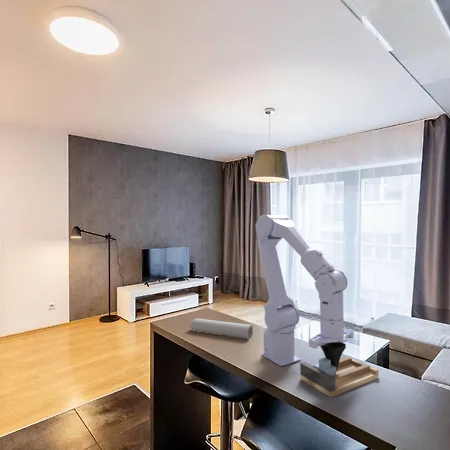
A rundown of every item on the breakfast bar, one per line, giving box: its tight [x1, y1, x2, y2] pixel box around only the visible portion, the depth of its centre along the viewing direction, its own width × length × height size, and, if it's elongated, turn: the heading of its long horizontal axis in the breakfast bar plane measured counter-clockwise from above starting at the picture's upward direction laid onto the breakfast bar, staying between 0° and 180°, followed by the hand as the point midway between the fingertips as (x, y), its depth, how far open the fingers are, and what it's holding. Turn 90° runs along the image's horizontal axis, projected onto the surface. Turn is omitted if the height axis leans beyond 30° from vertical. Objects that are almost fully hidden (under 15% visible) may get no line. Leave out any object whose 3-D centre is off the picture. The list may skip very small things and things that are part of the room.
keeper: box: [312, 357, 336, 376], centre depth 77 cm, size 4×4×5 cm
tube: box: [189, 317, 254, 341], centre depth 114 cm, size 5×5×25 cm
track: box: [299, 355, 379, 398], centre depth 80 cm, size 10×18×4 cm, turn 119°
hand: (332, 370), depth 78 cm, fingers closed
